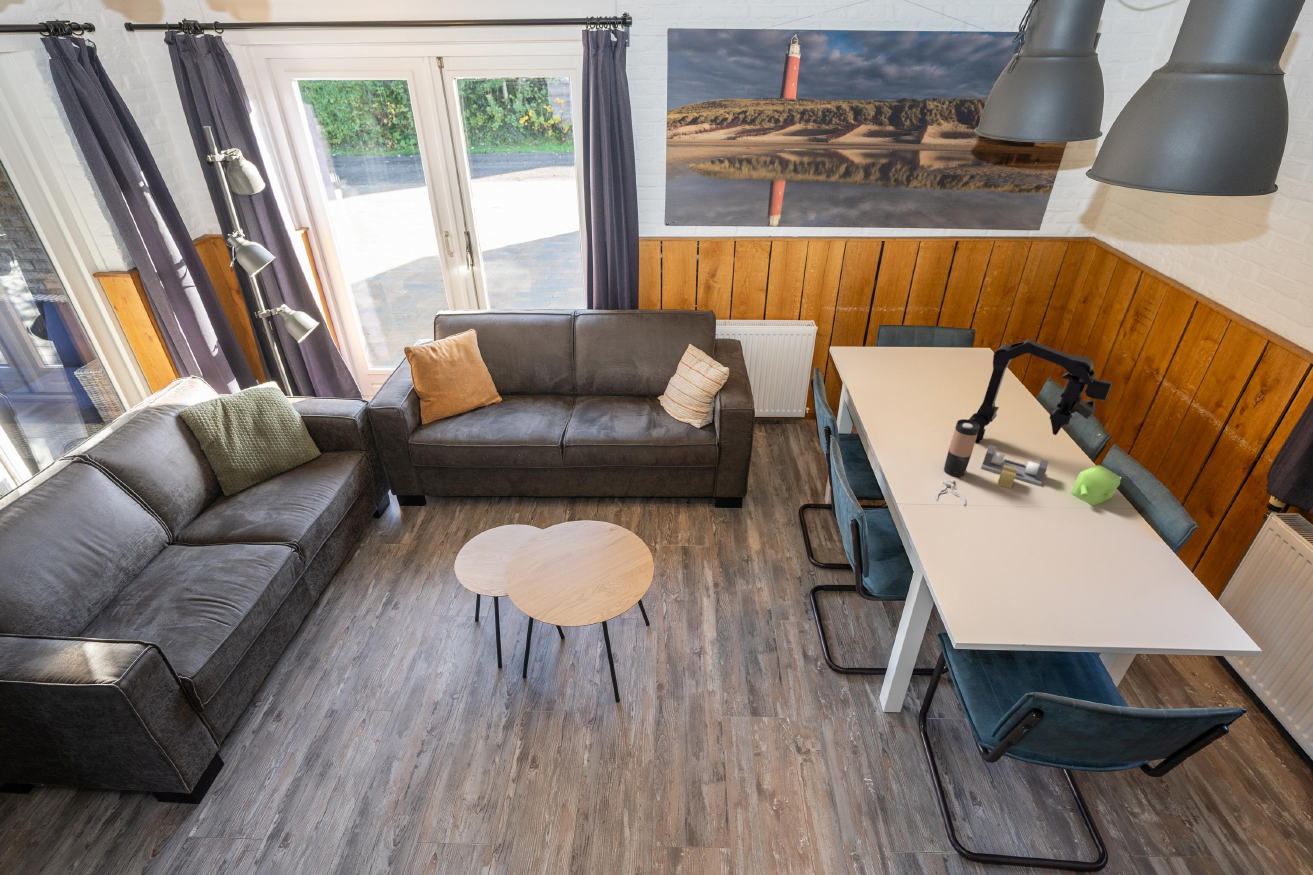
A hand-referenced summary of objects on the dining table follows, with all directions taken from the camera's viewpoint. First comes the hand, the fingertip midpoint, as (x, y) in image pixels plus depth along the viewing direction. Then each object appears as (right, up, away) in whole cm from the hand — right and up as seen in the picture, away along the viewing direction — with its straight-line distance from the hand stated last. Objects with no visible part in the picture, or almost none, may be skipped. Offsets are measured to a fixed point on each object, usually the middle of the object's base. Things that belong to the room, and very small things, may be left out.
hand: (1057, 429), depth 244 cm
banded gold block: (-22, -19, -6) cm, 30 cm away
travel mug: (-38, -15, 0) cm, 41 cm away
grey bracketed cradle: (-16, -15, +1) cm, 22 cm away
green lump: (+4, -24, -12) cm, 27 cm away
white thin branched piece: (-45, -22, -11) cm, 51 cm away
